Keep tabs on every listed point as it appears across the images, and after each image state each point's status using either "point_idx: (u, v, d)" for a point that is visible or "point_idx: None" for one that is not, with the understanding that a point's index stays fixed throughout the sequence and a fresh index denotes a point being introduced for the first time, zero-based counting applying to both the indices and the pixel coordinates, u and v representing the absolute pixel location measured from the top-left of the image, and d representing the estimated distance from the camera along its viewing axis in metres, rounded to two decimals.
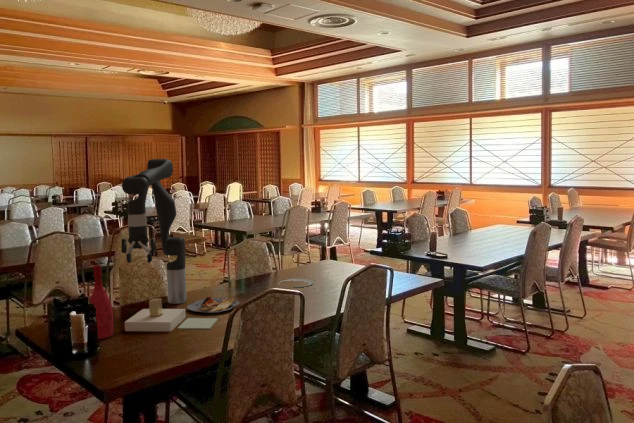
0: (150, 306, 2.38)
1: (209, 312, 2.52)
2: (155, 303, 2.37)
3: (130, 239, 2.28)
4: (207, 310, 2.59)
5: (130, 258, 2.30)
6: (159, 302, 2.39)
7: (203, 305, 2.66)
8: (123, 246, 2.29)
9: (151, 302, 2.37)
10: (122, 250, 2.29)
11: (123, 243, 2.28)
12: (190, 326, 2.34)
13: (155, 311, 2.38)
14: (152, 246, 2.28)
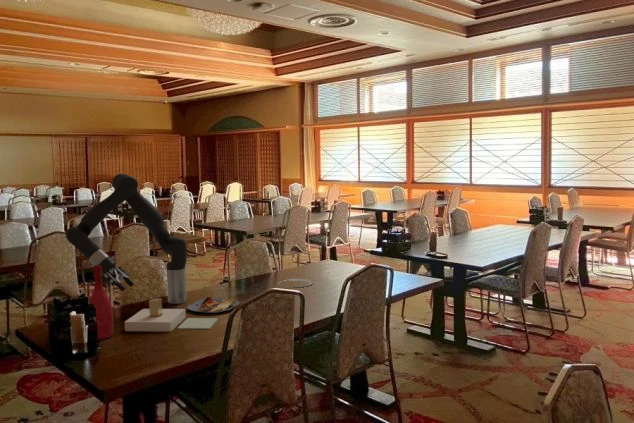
0: (150, 306, 2.38)
1: None
2: (155, 303, 2.37)
3: None
4: (207, 310, 2.59)
5: (129, 282, 2.44)
6: (159, 302, 2.39)
7: (203, 305, 2.66)
8: (121, 275, 2.46)
9: (151, 302, 2.37)
10: None
11: None
12: (190, 326, 2.34)
13: (155, 311, 2.38)
14: None
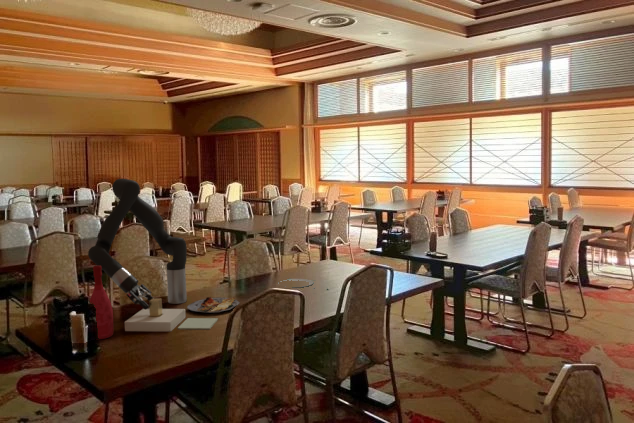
0: (150, 306, 2.38)
1: None
2: (155, 303, 2.37)
3: None
4: (207, 310, 2.59)
5: None
6: (159, 302, 2.39)
7: (203, 305, 2.66)
8: None
9: (151, 302, 2.37)
10: None
11: None
12: (190, 326, 2.34)
13: (155, 311, 2.38)
14: None
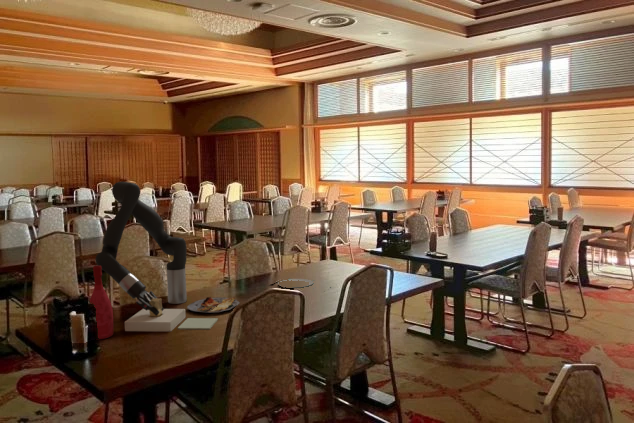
0: None
1: (209, 312, 2.52)
2: (155, 303, 2.37)
3: None
4: (207, 310, 2.59)
5: None
6: (159, 302, 2.39)
7: (203, 305, 2.66)
8: None
9: (151, 302, 2.37)
10: None
11: None
12: (190, 326, 2.34)
13: None
14: None
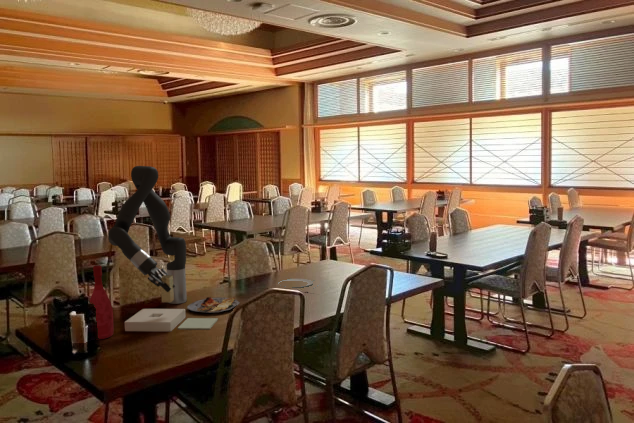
0: None
1: None
2: (166, 279, 2.36)
3: None
4: (207, 310, 2.59)
5: None
6: (170, 279, 2.37)
7: (203, 305, 2.66)
8: None
9: (162, 278, 2.36)
10: None
11: None
12: (190, 326, 2.34)
13: None
14: None
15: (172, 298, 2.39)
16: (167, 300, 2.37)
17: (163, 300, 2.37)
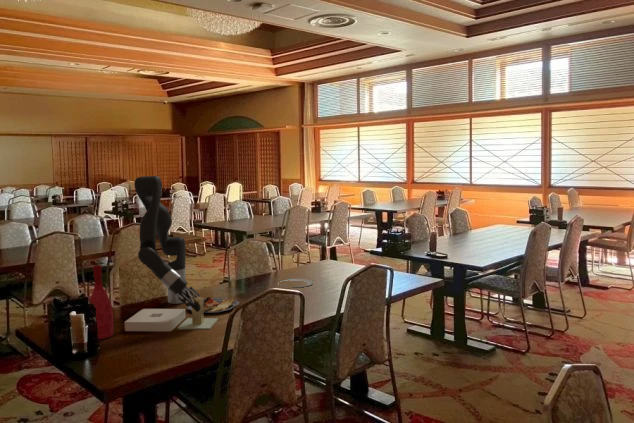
0: None
1: (209, 312, 2.52)
2: (197, 302, 2.36)
3: None
4: (207, 310, 2.59)
5: None
6: (201, 301, 2.37)
7: None
8: None
9: None
10: None
11: None
12: (190, 326, 2.34)
13: None
14: None
15: (202, 320, 2.39)
16: (198, 322, 2.37)
17: (194, 322, 2.37)
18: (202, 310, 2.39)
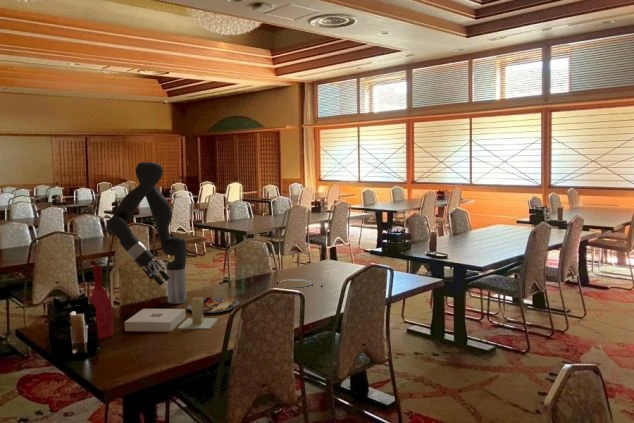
0: (192, 305, 2.36)
1: None
2: (197, 302, 2.36)
3: None
4: (207, 310, 2.59)
5: (165, 276, 2.43)
6: (201, 301, 2.37)
7: None
8: None
9: (193, 301, 2.36)
10: None
11: None
12: (190, 326, 2.34)
13: (197, 310, 2.36)
14: None
15: (202, 320, 2.39)
16: (198, 322, 2.37)
17: (194, 322, 2.37)
18: (202, 310, 2.39)
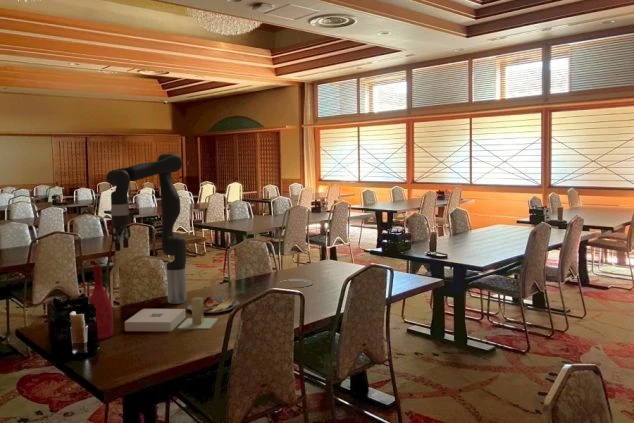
0: (192, 305, 2.36)
1: (209, 312, 2.52)
2: (197, 302, 2.36)
3: None
4: (207, 310, 2.59)
5: (125, 244, 2.51)
6: (201, 301, 2.37)
7: None
8: None
9: (193, 301, 2.36)
10: None
11: None
12: (190, 326, 2.34)
13: (197, 310, 2.36)
14: None
15: (202, 320, 2.39)
16: (198, 322, 2.37)
17: (194, 322, 2.37)
18: (202, 310, 2.39)
